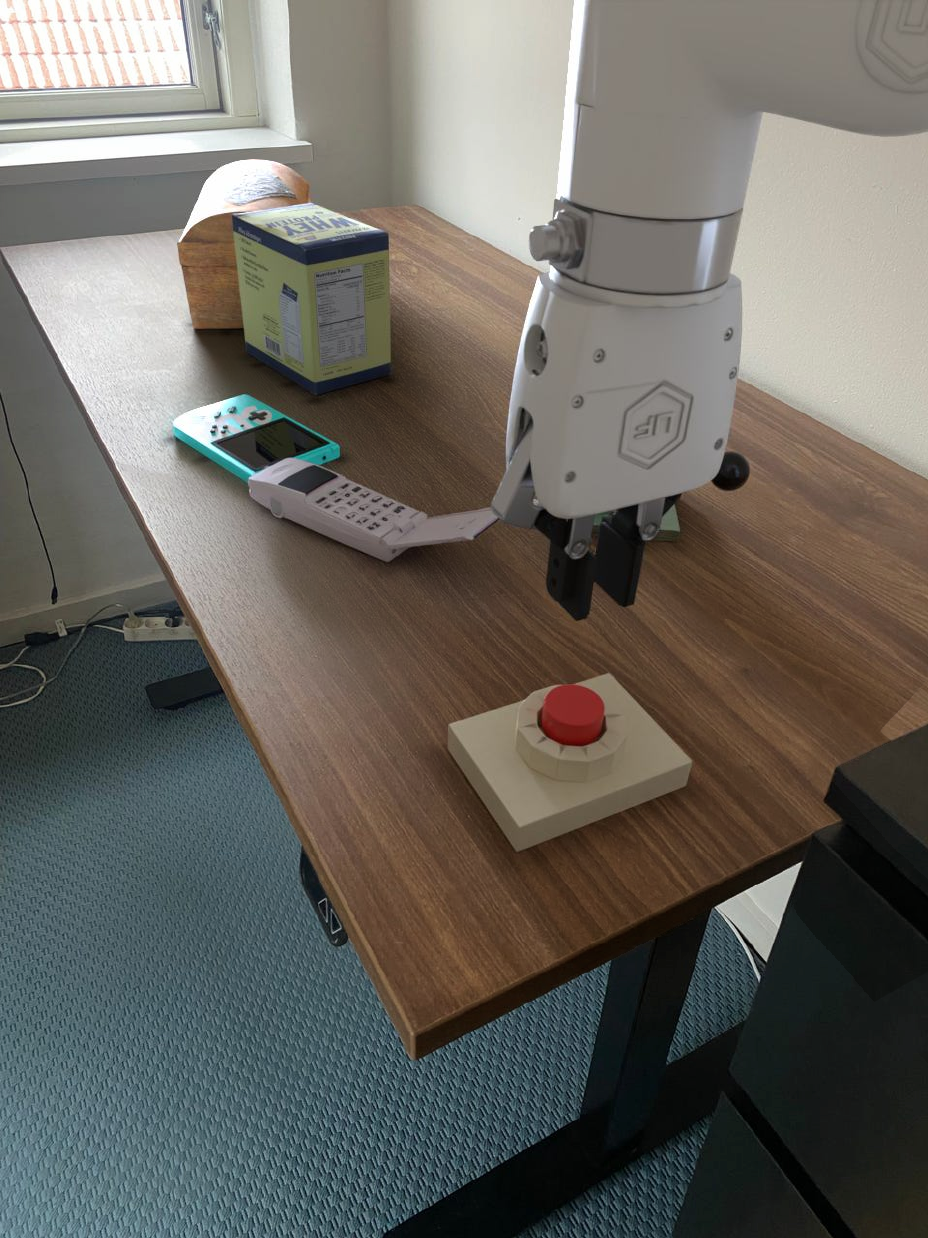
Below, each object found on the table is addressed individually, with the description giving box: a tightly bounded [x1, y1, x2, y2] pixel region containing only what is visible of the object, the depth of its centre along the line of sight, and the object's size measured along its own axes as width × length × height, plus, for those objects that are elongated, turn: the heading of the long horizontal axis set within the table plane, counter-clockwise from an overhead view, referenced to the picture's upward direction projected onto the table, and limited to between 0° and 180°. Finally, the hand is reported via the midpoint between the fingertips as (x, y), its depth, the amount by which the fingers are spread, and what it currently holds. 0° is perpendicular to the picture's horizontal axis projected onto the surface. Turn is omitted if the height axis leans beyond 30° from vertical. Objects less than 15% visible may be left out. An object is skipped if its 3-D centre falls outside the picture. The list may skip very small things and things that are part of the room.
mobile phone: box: [247, 458, 501, 563], centre depth 77 cm, size 6×6×25 cm
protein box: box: [231, 202, 392, 396], centre depth 103 cm, size 10×16×16 cm
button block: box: [447, 672, 693, 853], centre depth 57 cm, size 12×9×4 cm
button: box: [541, 684, 605, 746], centre depth 55 cm, size 4×4×2 cm
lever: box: [710, 450, 751, 492], centre depth 78 cm, size 14×3×3 cm
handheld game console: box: [172, 393, 341, 484], centre depth 91 cm, size 10×16×1 cm, turn 45°
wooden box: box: [176, 159, 312, 330], centre depth 123 cm, size 30×16×14 cm, turn 6°
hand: (590, 597), depth 50 cm, fingers closed
